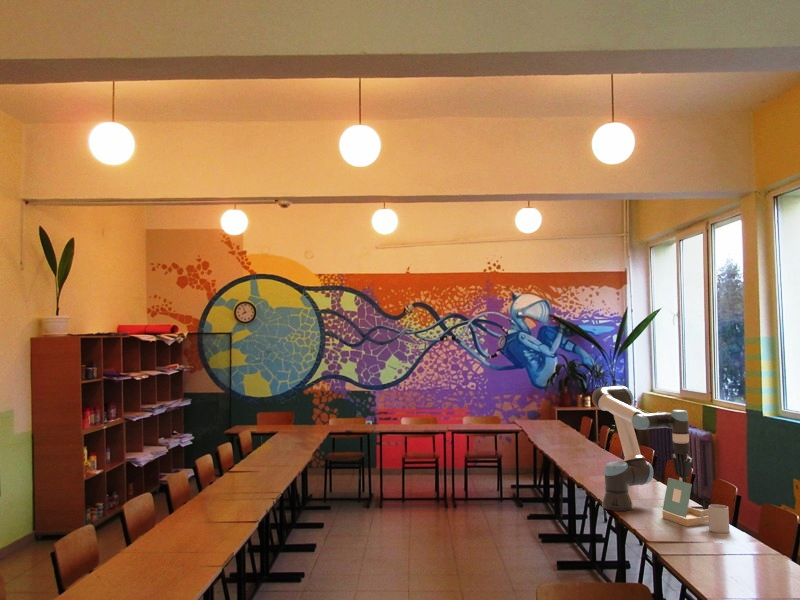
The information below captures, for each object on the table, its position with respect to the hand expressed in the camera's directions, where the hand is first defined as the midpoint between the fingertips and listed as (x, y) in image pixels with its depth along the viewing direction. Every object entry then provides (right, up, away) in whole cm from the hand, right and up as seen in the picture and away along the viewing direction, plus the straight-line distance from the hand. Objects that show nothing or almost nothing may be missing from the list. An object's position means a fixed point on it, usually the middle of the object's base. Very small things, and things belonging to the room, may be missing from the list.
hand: (683, 490), depth 332 cm
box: (+3, -15, 0) cm, 15 cm away
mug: (+8, -14, -17) cm, 23 cm away
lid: (-3, -3, -1) cm, 5 cm away
